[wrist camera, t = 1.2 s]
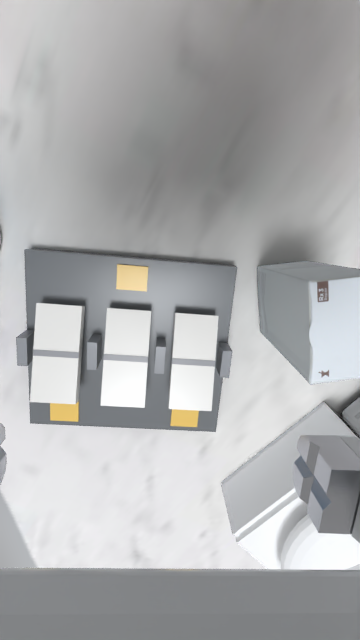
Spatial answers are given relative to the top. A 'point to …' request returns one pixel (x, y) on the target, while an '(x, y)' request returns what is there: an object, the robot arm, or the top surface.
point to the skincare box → (312, 317)
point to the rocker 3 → (193, 362)
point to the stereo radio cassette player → (353, 416)
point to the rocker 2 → (125, 358)
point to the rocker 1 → (57, 353)
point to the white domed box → (285, 505)
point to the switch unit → (134, 294)
